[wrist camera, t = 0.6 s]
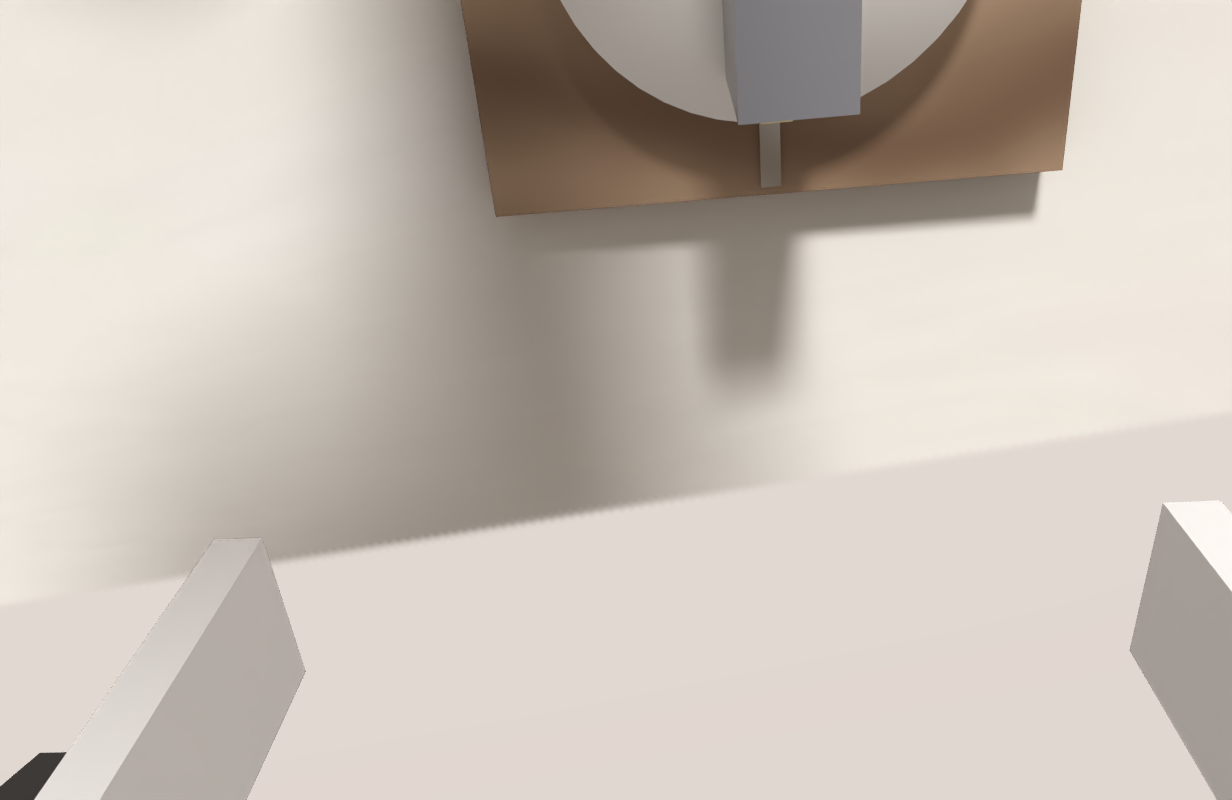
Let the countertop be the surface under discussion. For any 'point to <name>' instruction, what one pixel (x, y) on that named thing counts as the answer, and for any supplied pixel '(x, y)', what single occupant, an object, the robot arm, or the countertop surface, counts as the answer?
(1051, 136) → the dial base
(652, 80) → the dial
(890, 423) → the countertop surface
